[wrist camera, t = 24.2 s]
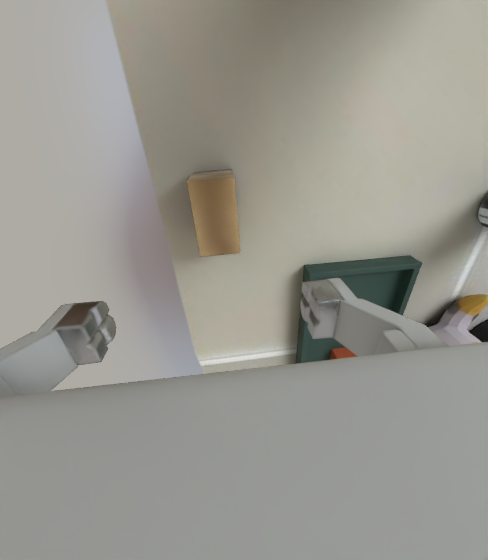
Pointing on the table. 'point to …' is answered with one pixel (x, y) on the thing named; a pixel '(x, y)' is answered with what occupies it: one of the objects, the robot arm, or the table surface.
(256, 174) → the table surface
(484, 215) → the pill bottle
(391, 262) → the tray
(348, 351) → the orange red square block
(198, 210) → the tan brown block
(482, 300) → the figurine
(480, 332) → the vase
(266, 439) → the robot arm
